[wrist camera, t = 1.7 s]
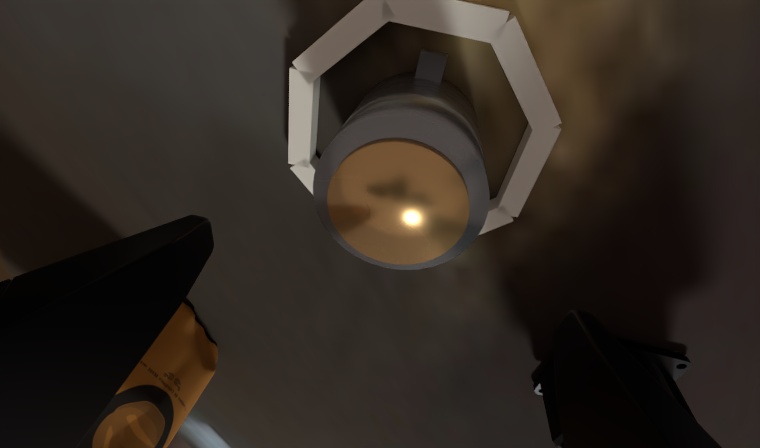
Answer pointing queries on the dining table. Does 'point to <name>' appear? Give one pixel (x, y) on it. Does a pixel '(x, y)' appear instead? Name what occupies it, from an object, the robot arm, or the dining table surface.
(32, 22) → the dining table surface
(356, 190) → the round spotlight head
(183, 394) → the coffee package
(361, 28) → the collar
